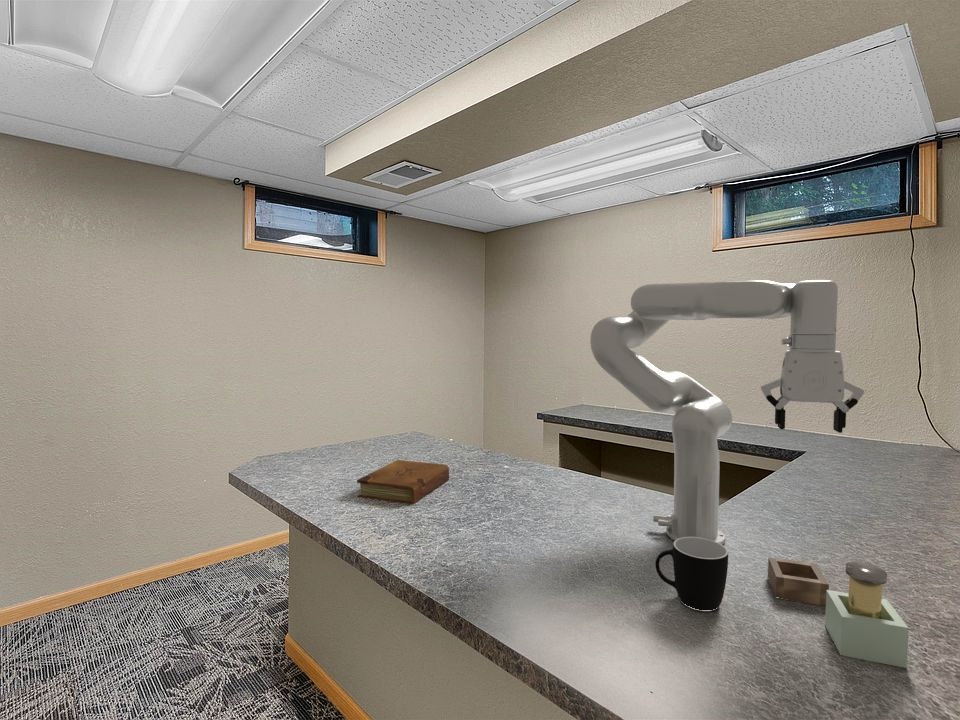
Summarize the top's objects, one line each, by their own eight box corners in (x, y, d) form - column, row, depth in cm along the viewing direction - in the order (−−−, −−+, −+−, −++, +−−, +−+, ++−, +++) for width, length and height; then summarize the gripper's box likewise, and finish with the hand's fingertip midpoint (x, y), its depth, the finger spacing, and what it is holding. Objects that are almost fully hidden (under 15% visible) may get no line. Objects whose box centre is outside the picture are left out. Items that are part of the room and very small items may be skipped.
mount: (775, 597, 90) (776, 576, 90) (767, 577, 98) (768, 557, 97) (827, 606, 87) (828, 584, 87) (815, 584, 95) (816, 563, 95)
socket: (840, 655, 75) (841, 616, 74) (825, 625, 82) (826, 589, 82) (906, 668, 72) (908, 627, 71) (884, 635, 79) (886, 599, 79)
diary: (414, 507, 139) (413, 487, 138) (357, 499, 145) (356, 480, 145) (449, 482, 160) (448, 464, 160) (398, 476, 167) (397, 459, 166)
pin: (848, 651, 76) (851, 574, 75) (838, 631, 80) (841, 559, 79) (888, 658, 74) (893, 580, 73) (876, 638, 78) (879, 564, 78)
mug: (727, 596, 91) (729, 542, 90) (725, 622, 83) (727, 563, 82) (658, 580, 97) (659, 529, 96) (650, 603, 89) (651, 548, 88)
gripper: (765, 344, 98) (762, 430, 99) (872, 345, 92) (868, 436, 93) (759, 343, 105) (756, 423, 106) (858, 343, 99) (854, 429, 100)
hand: (808, 429), depth 100 cm, fingers open, 9 cm apart
